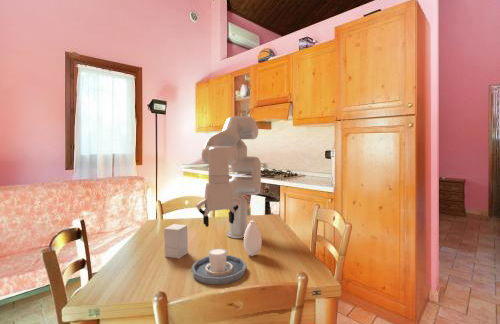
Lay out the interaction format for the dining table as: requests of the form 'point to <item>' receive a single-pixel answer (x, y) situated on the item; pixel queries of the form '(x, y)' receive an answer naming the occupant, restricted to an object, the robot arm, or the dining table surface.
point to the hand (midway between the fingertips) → (219, 224)
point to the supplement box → (176, 241)
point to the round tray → (231, 273)
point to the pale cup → (217, 259)
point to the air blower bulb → (252, 238)
